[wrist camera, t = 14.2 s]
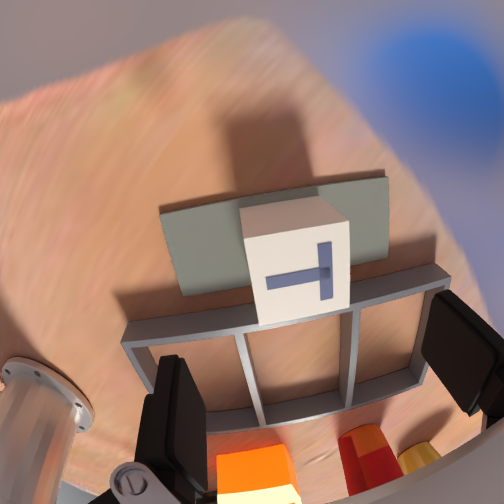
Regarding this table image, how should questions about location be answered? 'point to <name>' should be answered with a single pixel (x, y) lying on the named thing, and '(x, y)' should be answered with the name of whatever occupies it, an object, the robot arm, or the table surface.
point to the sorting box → (246, 320)
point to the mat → (232, 242)
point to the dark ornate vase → (208, 498)
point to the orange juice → (257, 477)
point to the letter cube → (297, 258)
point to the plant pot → (417, 457)
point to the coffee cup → (367, 459)
